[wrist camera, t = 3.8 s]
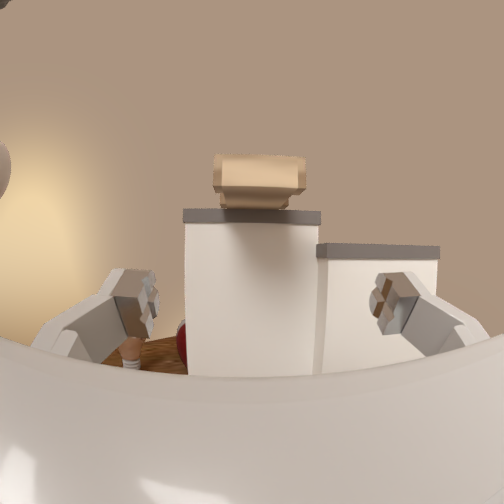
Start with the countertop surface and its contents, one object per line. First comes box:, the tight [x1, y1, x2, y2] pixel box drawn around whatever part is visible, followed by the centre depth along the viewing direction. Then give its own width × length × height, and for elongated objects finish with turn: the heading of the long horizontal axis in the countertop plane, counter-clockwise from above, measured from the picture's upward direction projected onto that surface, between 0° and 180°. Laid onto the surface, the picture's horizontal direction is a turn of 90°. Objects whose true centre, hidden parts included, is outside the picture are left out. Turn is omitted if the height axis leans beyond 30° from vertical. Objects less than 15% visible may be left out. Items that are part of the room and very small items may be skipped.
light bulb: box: [118, 337, 146, 370], centre depth 42 cm, size 7×7×12 cm
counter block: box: [183, 209, 440, 377], centre depth 31 cm, size 20×24×26 cm
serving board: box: [213, 154, 306, 210], centre depth 27 cm, size 22×6×5 cm, turn 3°
